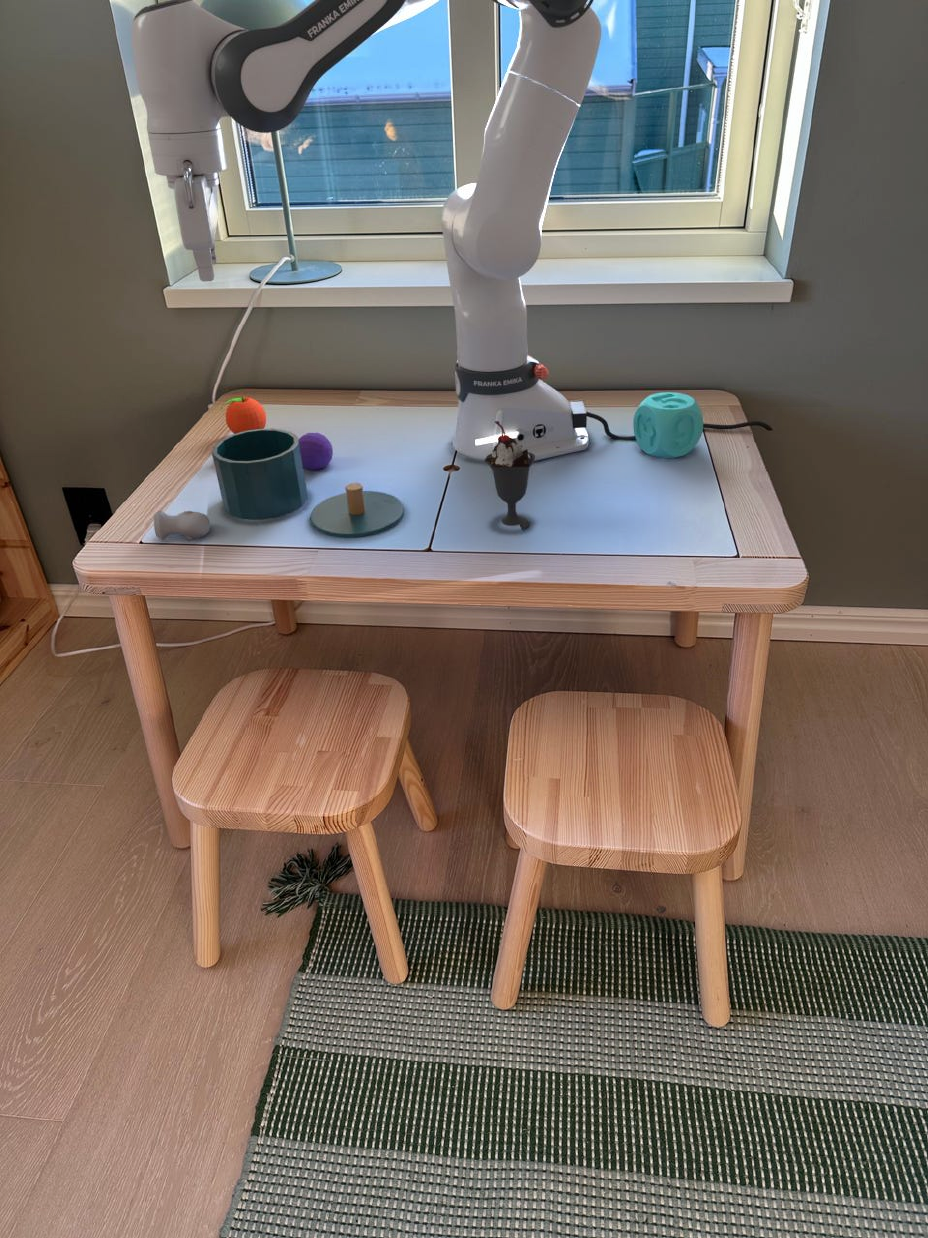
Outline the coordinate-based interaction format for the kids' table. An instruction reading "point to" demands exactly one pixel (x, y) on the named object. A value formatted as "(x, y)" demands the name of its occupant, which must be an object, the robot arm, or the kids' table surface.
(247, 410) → the clementine
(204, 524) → the smooth white sculpture
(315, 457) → the kendama
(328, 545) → the kids' table surface
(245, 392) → the kids' table surface
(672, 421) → the decorative dice
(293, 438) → the pot
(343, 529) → the lid
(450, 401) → the kids' table surface
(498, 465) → the sundae
